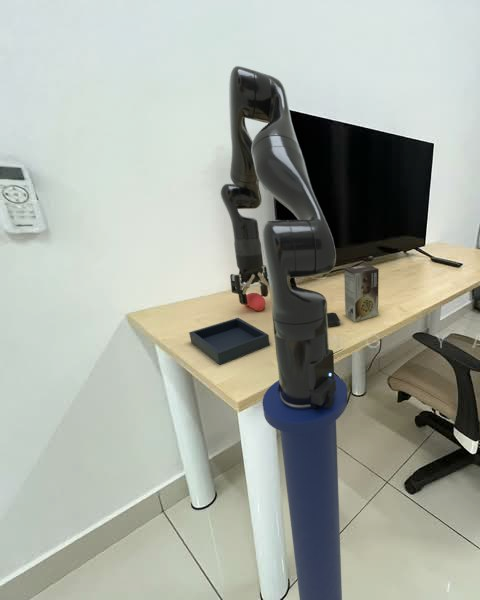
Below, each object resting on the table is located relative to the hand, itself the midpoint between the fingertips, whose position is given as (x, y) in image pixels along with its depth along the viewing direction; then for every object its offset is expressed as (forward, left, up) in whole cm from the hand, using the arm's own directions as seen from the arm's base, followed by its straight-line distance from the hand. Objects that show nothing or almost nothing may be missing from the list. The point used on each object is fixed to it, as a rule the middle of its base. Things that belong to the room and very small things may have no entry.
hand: (254, 300), depth 103 cm
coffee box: (-34, -11, -3) cm, 36 cm away
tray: (-13, +21, -3) cm, 25 cm away
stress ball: (0, 0, -3) cm, 3 cm away
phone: (-24, +1, -3) cm, 24 cm away
